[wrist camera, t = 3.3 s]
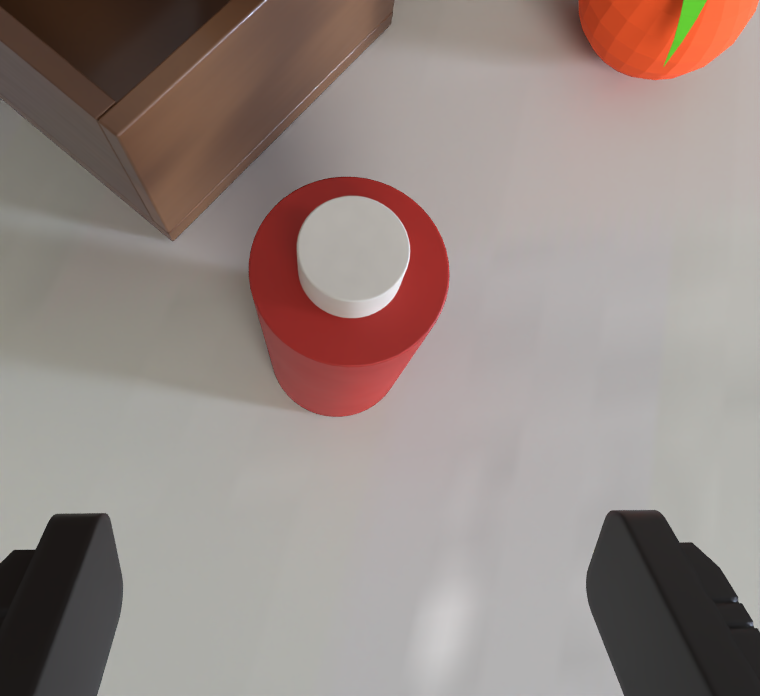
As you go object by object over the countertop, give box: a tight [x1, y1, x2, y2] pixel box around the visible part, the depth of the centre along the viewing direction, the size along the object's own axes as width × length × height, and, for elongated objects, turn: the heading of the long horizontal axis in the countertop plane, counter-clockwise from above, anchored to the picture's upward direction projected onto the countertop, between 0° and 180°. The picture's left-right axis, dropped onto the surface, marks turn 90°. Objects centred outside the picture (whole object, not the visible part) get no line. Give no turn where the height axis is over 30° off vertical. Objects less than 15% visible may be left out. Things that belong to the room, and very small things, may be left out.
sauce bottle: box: [249, 177, 449, 417], centre depth 21 cm, size 5×5×11 cm
